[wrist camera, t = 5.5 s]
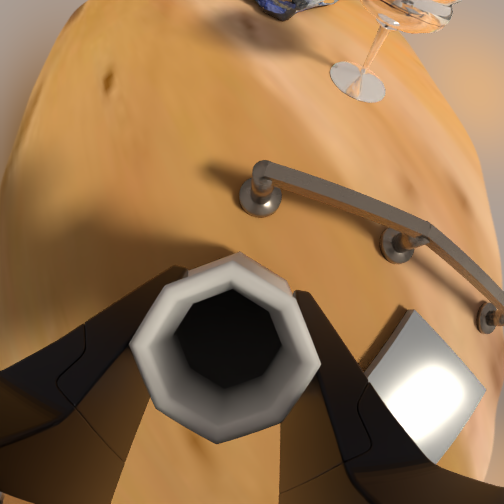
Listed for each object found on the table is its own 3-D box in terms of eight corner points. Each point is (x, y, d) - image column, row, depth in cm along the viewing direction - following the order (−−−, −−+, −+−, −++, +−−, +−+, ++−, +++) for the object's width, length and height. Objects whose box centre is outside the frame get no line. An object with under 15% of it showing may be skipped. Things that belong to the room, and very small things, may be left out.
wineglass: (333, 109, 18) (394, -26, 6) (309, 52, 19) (341, -62, 8) (406, 114, 19) (482, 16, 7) (377, 59, 20) (425, -34, 8)
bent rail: (488, 337, 16) (522, 338, 12) (232, 207, 16) (230, 179, 13) (498, 294, 16) (531, 290, 12) (258, 158, 17) (263, 122, 13)
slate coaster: (394, 499, 13) (398, 504, 12) (294, 448, 14) (297, 454, 13) (480, 388, 15) (486, 389, 14) (407, 309, 16) (414, 309, 15)
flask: (137, 313, 14) (2, 308, 4) (242, 229, 15) (251, 102, 6) (224, 417, 13) (210, 550, 3) (328, 332, 14) (460, 355, 5)
